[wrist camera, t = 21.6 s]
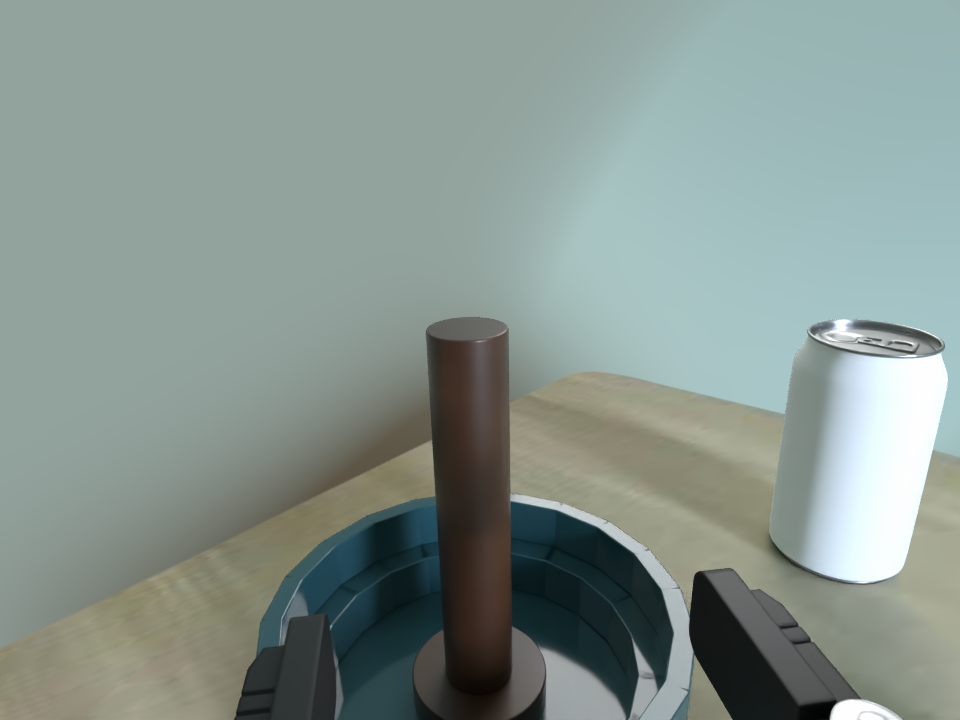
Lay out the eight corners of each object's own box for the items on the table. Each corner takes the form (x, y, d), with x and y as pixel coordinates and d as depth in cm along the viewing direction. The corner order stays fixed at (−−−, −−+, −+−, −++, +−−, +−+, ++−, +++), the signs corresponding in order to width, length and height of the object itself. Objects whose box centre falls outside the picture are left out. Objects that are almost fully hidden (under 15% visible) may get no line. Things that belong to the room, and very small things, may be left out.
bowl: (178, 817, 21) (148, 706, 20) (402, 549, 35) (395, 469, 33) (648, 1049, 16) (662, 921, 14) (699, 622, 29) (709, 530, 28)
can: (788, 501, 38) (818, 309, 34) (914, 542, 34) (965, 330, 30) (749, 553, 34) (779, 340, 30) (889, 607, 30) (946, 369, 26)
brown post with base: (389, 724, 24) (351, 345, 19) (448, 628, 28) (430, 302, 23) (520, 771, 22) (518, 364, 17) (561, 661, 26) (569, 312, 21)
